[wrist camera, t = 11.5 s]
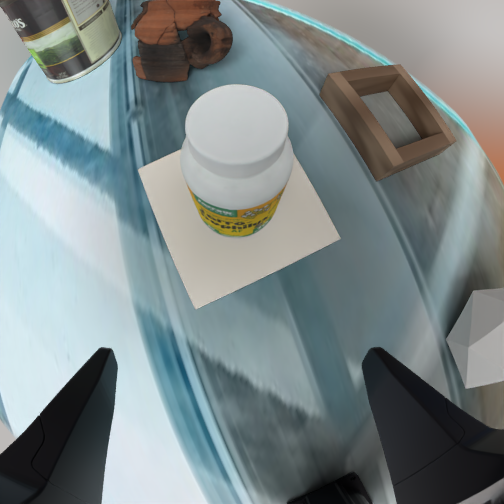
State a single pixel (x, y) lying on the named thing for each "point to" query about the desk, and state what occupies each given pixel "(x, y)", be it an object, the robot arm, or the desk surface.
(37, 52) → the coffee can
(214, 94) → the supplement bottle
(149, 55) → the broken brown clay pot
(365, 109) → the walnut holder
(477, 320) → the die
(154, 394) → the desk surface
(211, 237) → the off-white coaster
